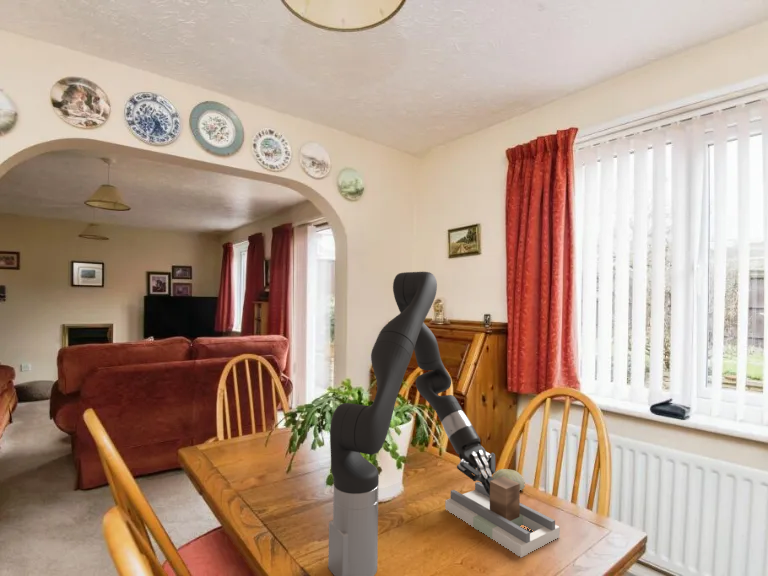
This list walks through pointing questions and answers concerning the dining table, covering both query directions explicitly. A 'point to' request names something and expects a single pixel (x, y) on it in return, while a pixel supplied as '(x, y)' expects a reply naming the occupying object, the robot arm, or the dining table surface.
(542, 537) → the lane deck
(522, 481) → the sea urchin shell
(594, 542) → the dining table surface
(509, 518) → the walnut block
